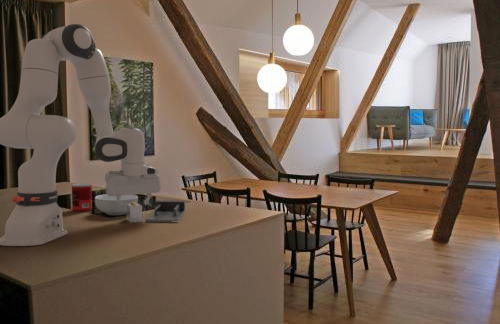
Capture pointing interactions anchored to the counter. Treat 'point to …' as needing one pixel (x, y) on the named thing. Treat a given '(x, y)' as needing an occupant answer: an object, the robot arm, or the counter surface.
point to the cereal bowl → (114, 203)
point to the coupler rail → (167, 211)
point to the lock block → (134, 212)
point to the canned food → (81, 197)
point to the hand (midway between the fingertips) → (134, 205)
